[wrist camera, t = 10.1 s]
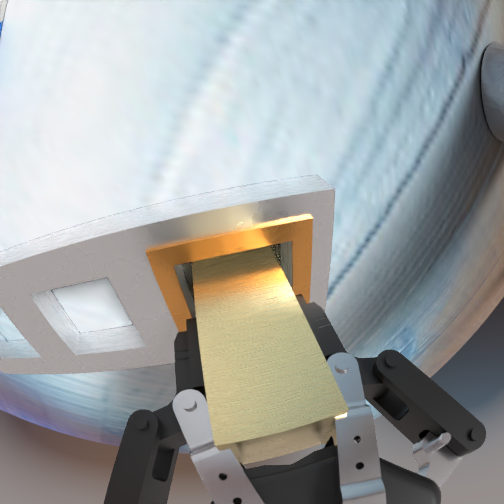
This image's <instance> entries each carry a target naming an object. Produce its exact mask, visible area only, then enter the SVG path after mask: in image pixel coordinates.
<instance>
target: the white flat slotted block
mask: <svg viewBox="0 0 504 504" xmlns="http://www.w3.org/2000/svg"><path fill="white" fill-rule="evenodd" d="M334 204H335V188H334V187H332V186H331V185H330V184H329V183H327V182H326V181H325V180H324V179H322V178H321V177H320V176H318V175H309V176H302V177H295V178H288V179H281V180H275V181H268V182H262V183H256V184H250V185H245V186H239V187H234V188H228V189H223V190H218V191H213V192H208V193H203V194H198V195H193V196H189V197H184V198H180V199H175V200H171V201H166V202H162V203H158V204H154V205H150V206H145V207H141V208H137V209H134V210H130V211H126V212H122V213H118V214H115V215H111V216H107V217H104V218H100V219H97V220H93V221H90V222H86V223H83V224H80V225H77V226H73V227H70V228H67V229H64V230H61V231H57V232H54V233H51V234H48V235H45V236H42V237H39V238H37V239H34V240H31V241H28V242H25V243H22V244H20V245H17V246H14V247H12V248H9V249H6V250H4V251H1V252H0V306H1V308H2V309H3V311H4V312H5V313H6V315H7V316H8V317H9V319H10V320H11V321H12V323H13V324H14V325H15V327H16V328H17V329H18V330H19V332H20V333H21V334H22V335H23V336H24V338H25V339H22V340H10V341H7V340H6V338H5V337H4V336H3V335H2V334H1V332H0V371H1V372H2V373H10V374H68V373H88V372H102V371H114V370H124V369H133V368H141V367H149V366H157V365H164V364H171V363H175V355H174V354H175V352H174V340H175V338H176V336H177V333H178V332H182V331H187V328H186V319H190V318H195V317H196V310H195V304H194V301H193V299H192V296H191V293H190V290H189V287H188V284H187V281H186V278H185V275H184V271H183V268H182V265H181V264H184V263H188V262H193V261H198V260H202V259H207V258H212V257H217V256H221V255H226V254H231V253H236V252H241V251H245V250H250V249H255V248H260V247H264V246H269V245H274V244H279V243H280V251H281V268H282V270H283V272H284V274H285V276H286V278H287V280H288V282H289V285H290V287H291V289H292V291H293V293H294V295H299V294H302V295H303V297H304V299H305V301H306V303H307V304H308V303H312V302H315V303H316V304H317V305H319V306H320V307H321V308H322V309H323V311H324V312H325V306H326V298H327V290H328V281H329V271H330V261H331V250H332V237H333V222H334ZM106 277H108V279H109V281H110V282H111V284H112V286H113V288H114V290H115V292H116V294H117V296H118V298H119V300H120V301H121V303H122V305H123V307H124V309H125V310H126V312H127V314H128V316H129V317H130V319H131V321H132V322H133V324H134V325H130V326H124V327H118V328H111V329H105V330H98V331H91V332H84V333H80V332H79V330H78V329H77V328H76V326H75V325H74V324H73V322H72V321H71V319H70V318H69V317H68V315H67V314H66V312H65V311H64V309H63V308H62V306H61V305H60V303H59V302H58V300H57V299H56V297H55V296H54V294H53V292H52V291H51V289H56V288H60V287H65V286H69V285H74V284H79V283H83V282H88V281H92V280H97V279H102V278H106Z"/></svg>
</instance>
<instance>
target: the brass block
mask: <svg viewBox="0 0 504 504" xmlns="http://www.w3.org/2000/svg"><path fill="white" fill-rule="evenodd" d="M192 275H193V288H194V299H195V310H196V320H197V329H198V338H199V347H200V355H201V363H202V370H203V378H204V385H205V391H206V398H207V404H208V411H209V417H210V422H211V428H212V434H213V439H214V444H215V446H216V447H217V448H220V447H225V446H229V447H230V448H231V449H232V450H233V451H234V453H235V454H236V455H237V456H238V457H239V459H240V460H241V461H242V462H243V463H244V464H247V463H252V462H257V461H261V460H266V459H270V458H274V457H278V456H282V455H286V454H289V453H293V452H296V451H300V450H303V449H306V448H309V447H313V446H316V445H319V444H321V442H322V440H323V438H324V437H325V435H326V433H327V431H328V429H329V427H330V426H331V424H332V422H333V420H334V418H335V417H338V416H340V415H343V414H346V413H347V412H348V410H349V409H348V406H347V404H346V402H345V400H344V398H343V396H342V393H341V391H340V389H339V387H338V385H337V383H336V380H335V378H334V376H333V374H332V372H331V370H330V368H329V365H328V363H327V361H326V359H325V357H324V355H323V353H322V351H321V349H320V346H319V344H318V342H317V340H316V338H315V336H314V334H313V332H312V330H311V328H310V326H309V323H308V321H307V319H306V317H305V315H304V313H303V311H302V309H301V307H300V305H299V303H298V301H297V299H296V297H295V295H294V293H293V291H292V289H291V287H290V285H289V282H288V280H287V278H286V276H285V274H284V272H283V270H282V268H281V266H280V264H279V262H278V260H277V258H276V256H275V254H274V252H273V250H272V248H271V246H270V245H269V246H264V247H260V248H255V249H250V250H245V251H241V252H236V253H231V254H226V255H221V256H217V257H212V258H207V259H202V260H198V261H193V262H192Z"/></svg>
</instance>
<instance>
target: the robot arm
mask: <svg viewBox="0 0 504 504" xmlns="http://www.w3.org/2000/svg"><path fill="white" fill-rule="evenodd" d="M481 87H482V99H483V106H484V111H485V116H486V119H487V122H488V125H489V127H490V130H491V132H492V133H493V135H494V136H495V137H496V138H497V139H499V140H501V141H503V142H504V44H501V43H496V42H495V43H491V44H490V45H489V46H488V47H487V49H486V51H485V53H484V57H483V62H482V69H481ZM295 297H296V299H297V301H298V303H299V305H300V307H301V309H302V311H303V313H304V315H305V317H306V319H307V321H308V323H309V326H310V328H311V330H312V332H313V334H314V336H315V338H316V340H317V342H318V344H319V346H320V349H321V351H322V353H323V355H324V357H325V359H326V361H327V363H328V365H329V368H330V370H331V372H332V374H333V376H334V378H335V380H336V383H337V385H338V387H339V389H340V391H341V393H342V396H343V398H344V400H345V402H346V404H347V406H348V409H349V410H348V412H347V413H346V414H343V415H340V416H338V417H335V418H334V420H333V422H332V424H331V426H330V427H329V429H328V431H327V433H326V435H325V437H324V438H323V440H322V442H321V447H322V449H321V450H317V451H314V452H313V453H311V454H309V455H308V456H306V457H304V458H302V459H301V460H299V461H297V462H295V463H293V464H291V465H264V466H259V467H255V468H250V469H247V468H246V467H245V465H244V463H243V462H242V461H241V460H240V459H239V457H238V456H237V455H236V454H235V453H234V451H233V450H232V449H231V448H230V447H229V446H225V447H220V448H217V447H216V446H215V444H214V439H213V434H212V428H211V422H210V417H209V411H208V404H207V398H206V391H205V385H204V378H203V370H202V363H201V355H200V347H199V338H198V329H197V320H196V317H195V318H190V319H186V328H187V331H182V332H178V333H177V336H176V338H175V340H174V352H175V354H174V355H175V372H176V387H177V392H176V396H175V398H174V399H173V401H172V402H171V403H170V404H169V405H167V406H165V407H163V408H161V409H159V410H157V411H154V412H151V411H149V410H138V411H135V412H134V413H133V414H132V415H131V416H130V417H129V419H128V422H127V425H126V428H125V431H124V435H123V438H122V441H121V444H120V447H119V451H118V454H117V457H116V461H115V464H114V468H113V471H112V474H111V478H110V482H109V486H108V489H107V493H106V497H105V501H104V504H167V500H168V495H169V491H170V486H171V482H172V477H173V473H174V469H175V464H176V460H177V456H178V451H179V447H180V446H183V445H185V444H187V443H188V445H189V448H190V456H191V459H192V461H193V463H194V465H195V467H196V469H197V471H198V473H199V475H200V477H201V479H202V481H203V483H204V485H205V486H206V489H207V491H208V492H209V494H210V496H211V497H212V500H213V501H212V502H211V504H440V503H441V491H440V489H439V488H440V487H441V485H443V483H444V482H445V481H446V480H447V478H448V477H449V476H450V475H451V473H452V472H453V471H454V470H455V468H456V467H457V466H458V464H459V463H460V461H461V460H462V459H463V457H464V456H465V455H467V454H469V453H471V452H473V451H475V450H476V449H478V448H479V447H481V445H482V444H483V443H484V441H485V438H486V430H485V427H484V425H483V424H482V423H481V422H480V421H478V420H477V419H476V418H475V417H474V416H473V415H472V414H471V413H470V412H468V411H467V410H466V409H465V408H464V407H463V406H461V405H460V404H459V403H458V402H457V401H456V400H455V399H453V398H452V397H451V396H450V395H449V394H448V393H447V392H445V391H444V390H443V389H442V388H441V387H439V386H438V385H437V384H436V383H435V382H434V381H433V380H431V379H430V378H429V377H428V376H427V375H425V374H424V373H423V372H422V371H421V370H420V369H418V368H417V367H416V366H415V365H414V364H412V363H411V362H410V361H409V360H408V359H406V358H405V357H404V356H403V355H402V354H401V353H399V352H397V351H395V350H385V351H383V352H381V353H380V354H379V355H378V357H375V358H357V357H354V356H352V355H350V354H349V353H347V352H346V350H345V349H344V347H343V345H342V343H341V342H340V340H339V338H338V336H337V334H336V332H335V331H334V329H333V327H332V325H331V323H330V321H329V320H328V318H327V316H326V314H325V312H324V311H323V309H322V308H321V307H320V306H319V305H317V304H316V303H315V302H312V303H308V304H307V303H306V301H305V299H304V297H303V295H302V294H299V295H295ZM365 399H366V400H367V401H368V402H370V403H371V404H372V405H373V406H374V407H375V408H376V409H377V410H378V411H379V412H380V413H381V414H382V415H383V416H384V417H385V418H386V419H387V420H389V421H390V422H391V423H392V424H393V425H394V426H395V427H396V428H397V429H398V430H399V431H400V432H401V433H402V434H403V435H405V436H406V437H407V438H408V439H409V440H410V441H411V442H412V443H413V444H414V447H413V457H414V459H415V460H416V461H417V463H418V466H419V471H418V474H417V473H414V472H412V471H409V470H407V469H404V468H402V467H400V466H397V465H395V464H393V463H390V462H388V461H386V460H384V459H382V458H379V454H378V446H377V440H376V433H375V426H374V420H373V414H372V410H371V408H370V406H369V405H367V404H366V402H365ZM356 441H357V443H355V442H356Z"/></svg>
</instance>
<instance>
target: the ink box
mask: <svg viewBox="0 0 504 504" xmlns="http://www.w3.org/2000/svg"><path fill="white" fill-rule="evenodd" d="M7 1H8V0H0V35H1V29H2V23H3V18H4V13H5V9H6V5H7Z"/></svg>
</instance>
